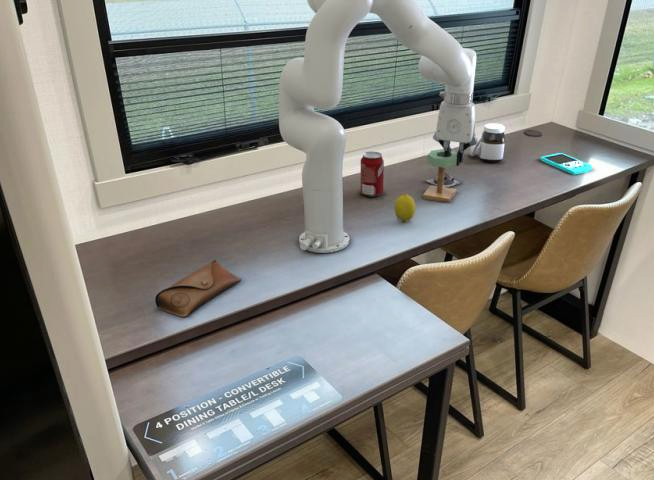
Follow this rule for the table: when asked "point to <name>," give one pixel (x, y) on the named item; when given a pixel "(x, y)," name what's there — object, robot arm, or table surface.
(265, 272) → the table surface
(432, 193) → the post
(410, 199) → the lemon
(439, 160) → the ring
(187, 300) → the sunglasses case
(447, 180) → the donut
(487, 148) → the spread jar
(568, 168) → the handheld game console
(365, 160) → the soda can
